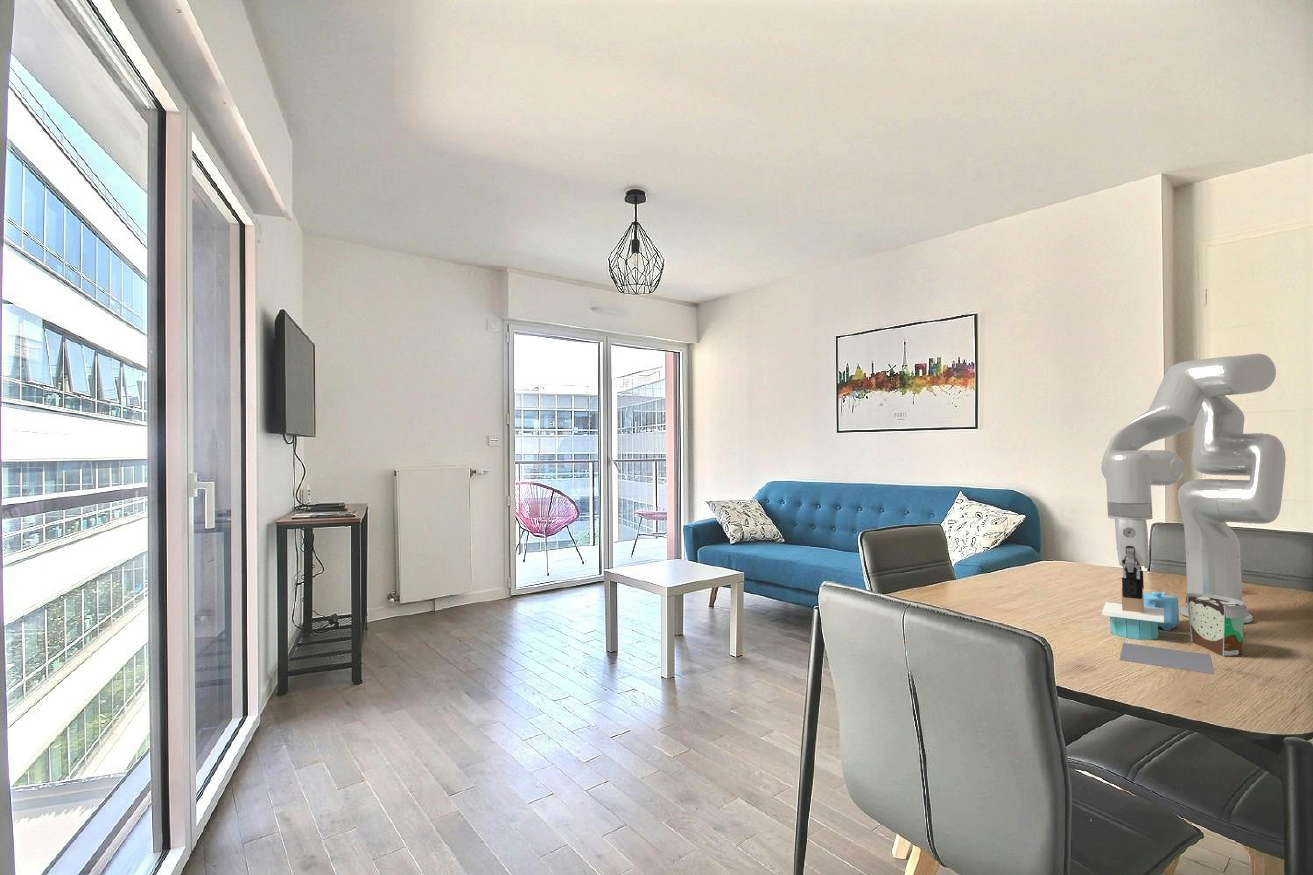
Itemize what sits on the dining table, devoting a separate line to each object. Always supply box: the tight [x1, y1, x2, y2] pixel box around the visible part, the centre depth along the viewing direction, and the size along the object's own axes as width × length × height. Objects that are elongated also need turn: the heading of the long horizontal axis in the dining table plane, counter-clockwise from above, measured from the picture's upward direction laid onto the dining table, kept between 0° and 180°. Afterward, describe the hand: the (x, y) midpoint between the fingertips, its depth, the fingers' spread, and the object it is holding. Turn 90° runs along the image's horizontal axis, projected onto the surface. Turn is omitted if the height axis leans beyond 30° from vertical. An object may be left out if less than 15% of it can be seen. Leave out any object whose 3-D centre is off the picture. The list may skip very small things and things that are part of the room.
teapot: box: [1143, 591, 1180, 632], centre depth 140 cm, size 12×6×8 cm, turn 131°
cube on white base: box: [1101, 588, 1164, 623], centre depth 132 cm, size 10×10×5 cm
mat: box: [1119, 642, 1215, 675], centre depth 117 cm, size 13×13×1 cm
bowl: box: [1109, 616, 1159, 641], centre depth 132 cm, size 8×8×5 cm
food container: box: [1185, 592, 1250, 658], centre depth 121 cm, size 12×6×10 cm, turn 168°
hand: (1133, 593), depth 132 cm, fingers open, 9 cm apart
